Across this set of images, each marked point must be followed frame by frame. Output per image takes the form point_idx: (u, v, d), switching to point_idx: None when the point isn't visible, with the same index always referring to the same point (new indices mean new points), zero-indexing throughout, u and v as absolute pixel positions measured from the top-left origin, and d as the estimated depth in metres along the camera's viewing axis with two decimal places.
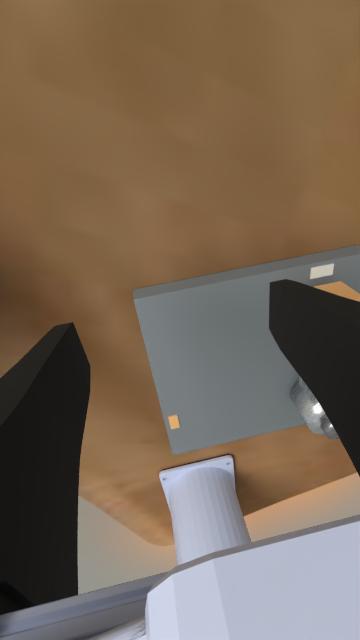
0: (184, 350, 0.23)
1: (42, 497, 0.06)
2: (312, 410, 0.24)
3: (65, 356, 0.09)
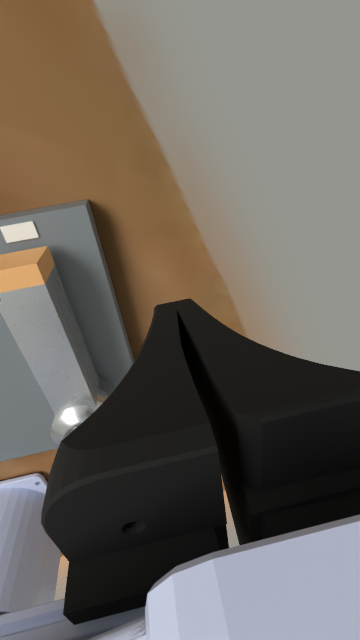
0: None
1: None
2: (53, 422, 0.18)
3: None
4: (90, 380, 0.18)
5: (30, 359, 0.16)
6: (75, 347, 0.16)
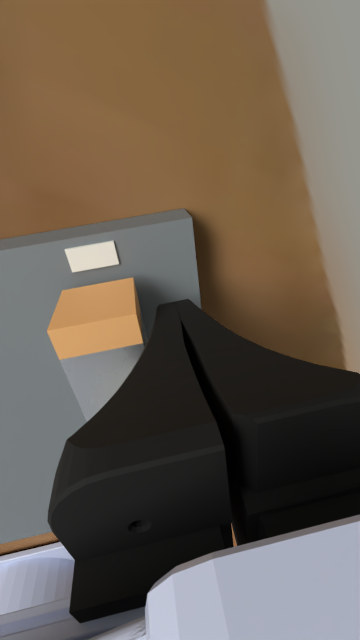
0: None
1: None
2: None
3: (182, 331, 0.09)
4: None
5: None
6: None
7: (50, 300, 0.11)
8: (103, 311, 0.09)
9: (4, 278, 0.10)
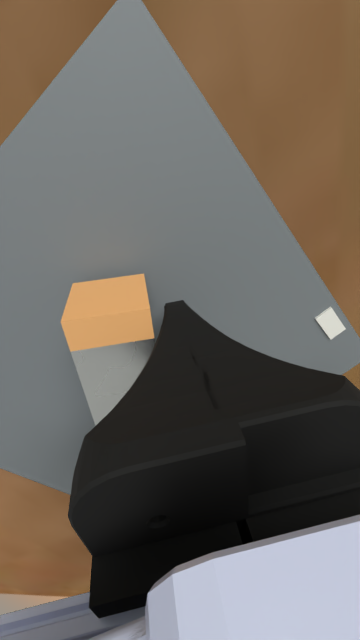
0: (82, 218, 0.10)
1: None
2: None
3: None
4: None
5: None
6: None
7: (285, 316, 0.13)
8: (116, 305, 0.09)
9: (294, 283, 0.12)
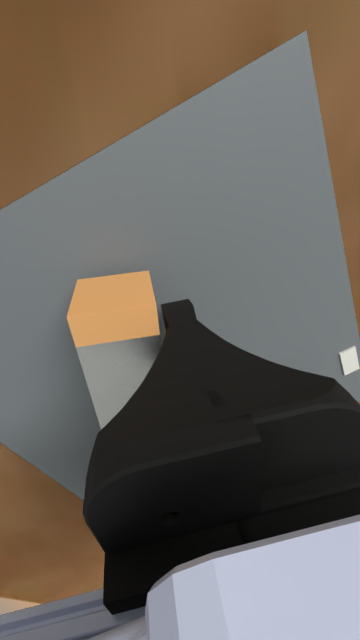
0: (185, 213, 0.10)
1: None
2: None
3: None
4: None
5: None
6: None
7: (316, 346, 0.14)
8: (122, 301, 0.09)
9: (334, 318, 0.14)
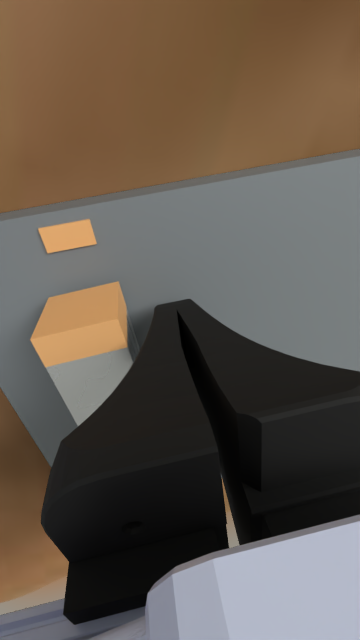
0: (286, 249, 0.11)
1: None
2: None
3: None
4: None
5: None
6: None
7: None
8: (86, 317, 0.09)
9: None
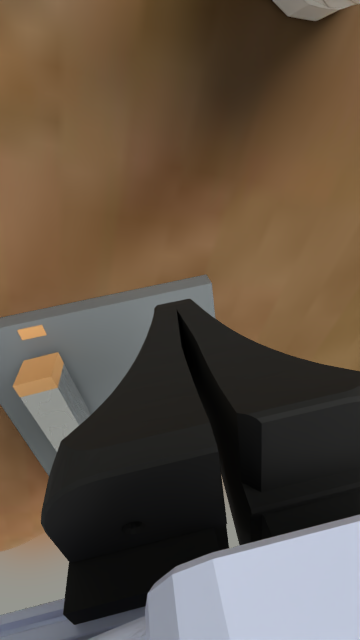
0: (147, 331, 0.22)
1: None
2: None
3: None
4: None
5: (48, 434, 0.21)
6: (81, 422, 0.22)
7: None
8: (38, 374, 0.19)
9: None
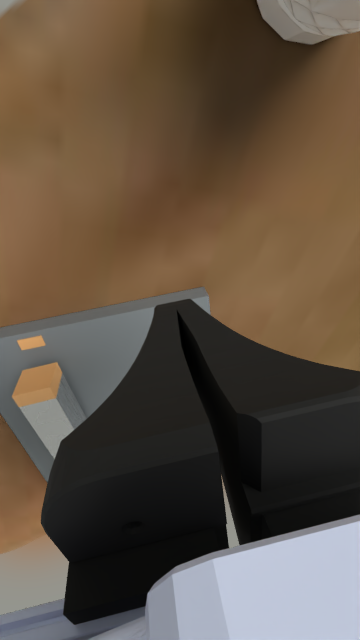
0: None
1: None
2: None
3: None
4: None
5: (47, 443, 0.22)
6: None
7: None
8: (37, 385, 0.19)
9: None
